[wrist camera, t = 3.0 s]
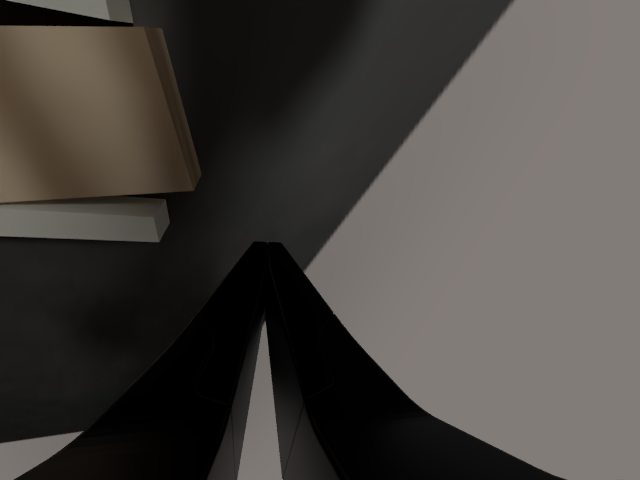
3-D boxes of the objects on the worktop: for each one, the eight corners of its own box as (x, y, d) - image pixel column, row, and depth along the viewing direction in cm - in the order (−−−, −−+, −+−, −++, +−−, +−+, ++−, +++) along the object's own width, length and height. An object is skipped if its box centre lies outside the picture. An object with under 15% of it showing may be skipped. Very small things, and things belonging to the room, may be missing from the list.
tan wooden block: (164, 28, 14) (143, 27, 12) (203, 171, 19) (193, 190, 17) (-127, 26, 13) (-218, 23, 10) (-5, 182, 18) (-47, 205, 15)
